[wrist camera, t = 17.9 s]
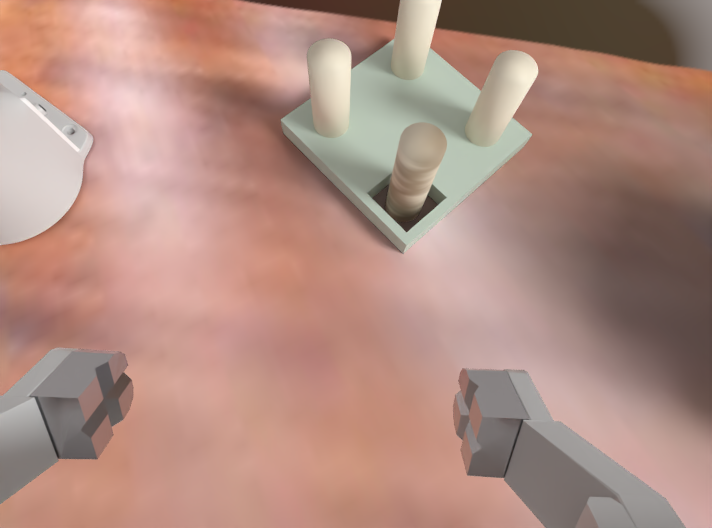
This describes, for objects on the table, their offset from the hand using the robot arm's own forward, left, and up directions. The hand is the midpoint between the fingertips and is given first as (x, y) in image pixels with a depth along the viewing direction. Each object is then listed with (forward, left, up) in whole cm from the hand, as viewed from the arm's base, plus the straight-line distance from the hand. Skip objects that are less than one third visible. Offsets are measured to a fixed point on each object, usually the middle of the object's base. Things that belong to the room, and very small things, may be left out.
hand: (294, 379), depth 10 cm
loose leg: (-10, +19, -31) cm, 38 cm away
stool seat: (-16, +25, -31) cm, 43 cm away
